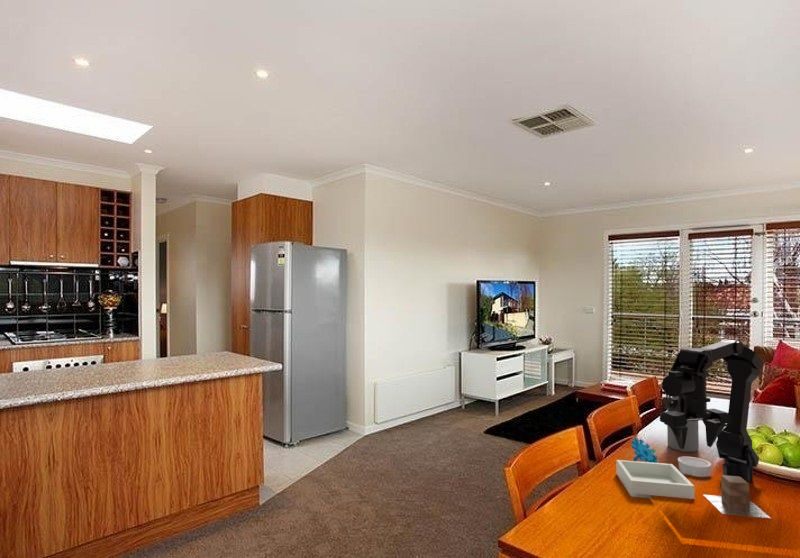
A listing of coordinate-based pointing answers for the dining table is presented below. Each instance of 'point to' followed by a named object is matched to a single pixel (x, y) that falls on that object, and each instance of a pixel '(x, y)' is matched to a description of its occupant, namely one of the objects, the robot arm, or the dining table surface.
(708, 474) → the ramekin
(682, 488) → the bin
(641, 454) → the blue coral
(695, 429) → the water bottle
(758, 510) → the stud plate
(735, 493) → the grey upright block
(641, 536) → the dining table surface
